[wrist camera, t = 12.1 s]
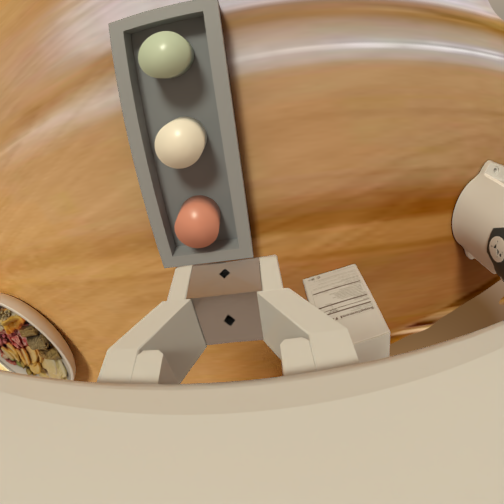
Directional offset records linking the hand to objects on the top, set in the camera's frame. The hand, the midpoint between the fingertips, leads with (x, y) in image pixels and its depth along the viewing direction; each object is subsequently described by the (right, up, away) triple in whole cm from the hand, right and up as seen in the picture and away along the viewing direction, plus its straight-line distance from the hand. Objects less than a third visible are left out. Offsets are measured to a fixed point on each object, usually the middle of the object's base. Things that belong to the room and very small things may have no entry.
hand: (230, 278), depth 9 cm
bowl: (-52, -19, +44) cm, 71 cm away
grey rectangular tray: (-7, +15, +25) cm, 30 cm away
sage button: (-8, +22, +18) cm, 30 cm away
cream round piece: (-7, +14, +23) cm, 28 cm away
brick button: (-6, +6, +29) cm, 30 cm away
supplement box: (+14, -5, +39) cm, 42 cm away
